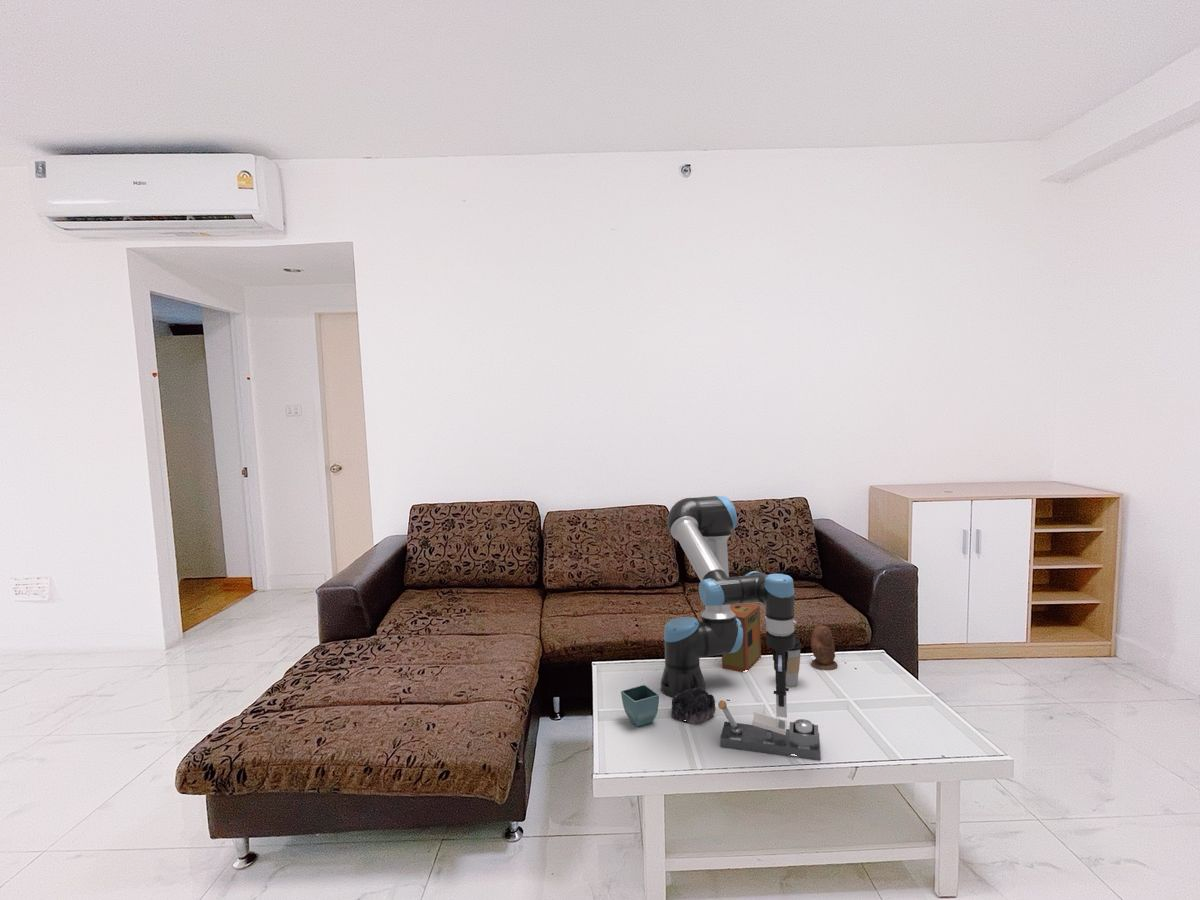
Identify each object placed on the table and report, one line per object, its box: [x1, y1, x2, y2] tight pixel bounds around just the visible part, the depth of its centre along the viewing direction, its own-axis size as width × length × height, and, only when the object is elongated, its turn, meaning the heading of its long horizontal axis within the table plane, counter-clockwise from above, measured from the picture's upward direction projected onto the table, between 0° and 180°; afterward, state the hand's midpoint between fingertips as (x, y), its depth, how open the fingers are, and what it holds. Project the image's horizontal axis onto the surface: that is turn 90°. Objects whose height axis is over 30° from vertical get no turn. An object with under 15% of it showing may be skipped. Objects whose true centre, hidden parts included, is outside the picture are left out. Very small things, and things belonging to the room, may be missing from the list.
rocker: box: [751, 711, 788, 735], centre depth 167 cm, size 9×6×1 cm, turn 71°
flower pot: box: [620, 684, 660, 727], centre depth 182 cm, size 9×9×9 cm
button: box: [794, 718, 813, 735], centre depth 164 cm, size 4×4×4 cm
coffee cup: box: [786, 637, 803, 688], centre depth 206 cm, size 9×9×15 cm
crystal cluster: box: [671, 686, 717, 725], centre depth 186 cm, size 13×14×10 cm
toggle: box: [717, 699, 737, 728], centre depth 170 cm, size 2×2×8 cm
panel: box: [719, 721, 821, 761], centre depth 167 cm, size 26×10×5 cm, turn 71°
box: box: [721, 603, 762, 673], centre depth 225 cm, size 17×9×20 cm, turn 147°
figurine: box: [810, 624, 838, 671], centre depth 220 cm, size 9×10×15 cm
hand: (781, 715), depth 166 cm, fingers closed
